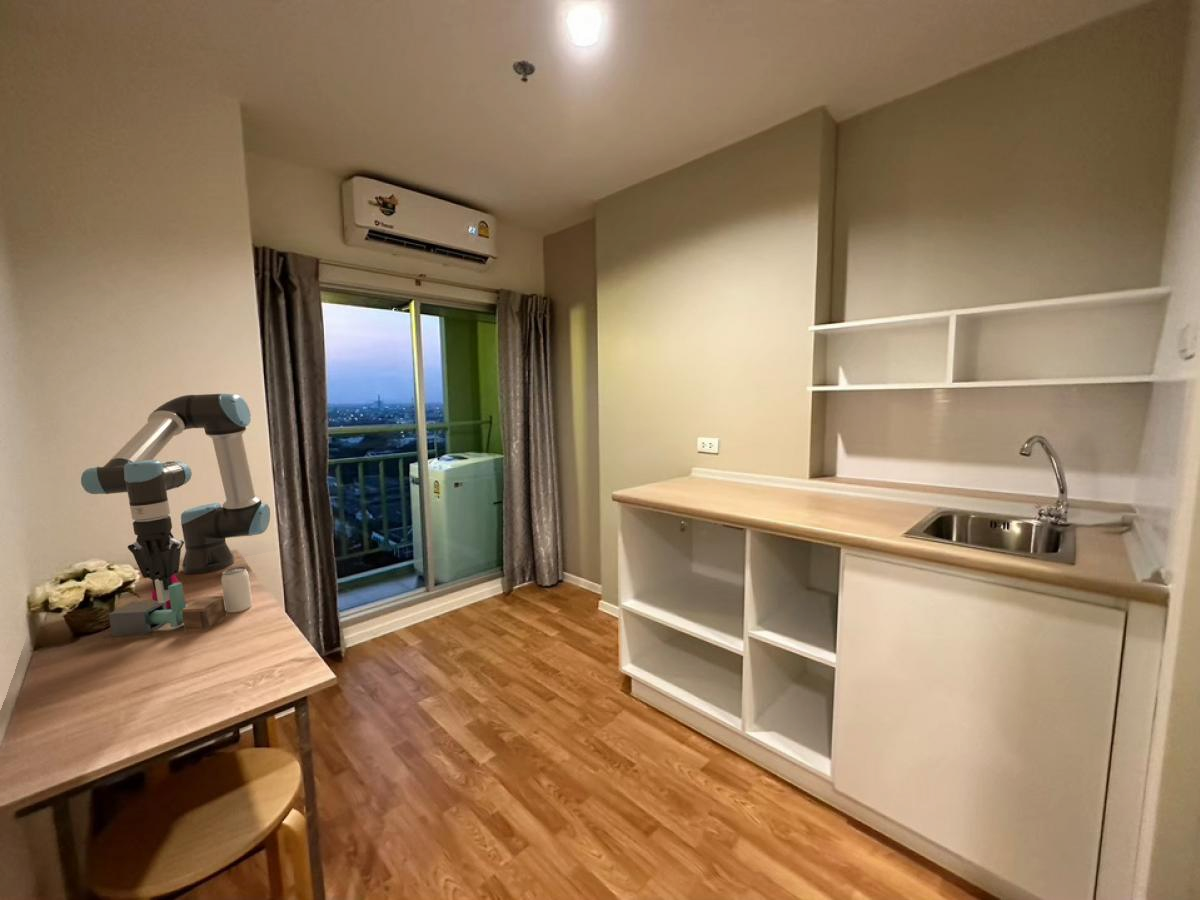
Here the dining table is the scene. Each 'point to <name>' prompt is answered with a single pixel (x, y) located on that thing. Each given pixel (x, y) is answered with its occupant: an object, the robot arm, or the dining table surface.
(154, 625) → the gray block
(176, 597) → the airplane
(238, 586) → the can
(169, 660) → the dining table surface
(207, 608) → the socket
